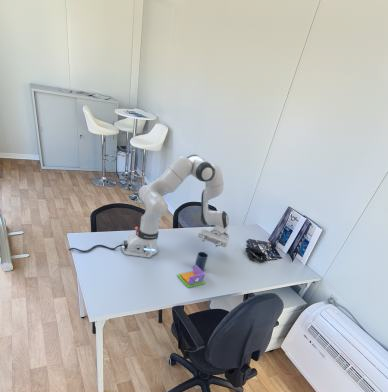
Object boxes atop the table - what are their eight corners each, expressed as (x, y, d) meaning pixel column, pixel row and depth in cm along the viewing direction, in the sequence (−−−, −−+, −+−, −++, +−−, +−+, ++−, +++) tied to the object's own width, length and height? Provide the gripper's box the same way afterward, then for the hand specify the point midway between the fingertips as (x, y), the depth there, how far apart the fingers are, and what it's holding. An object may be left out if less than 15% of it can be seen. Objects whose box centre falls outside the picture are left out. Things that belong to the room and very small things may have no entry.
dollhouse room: (204, 283, 170) (207, 274, 166) (188, 287, 163) (190, 278, 159) (193, 271, 177) (196, 262, 173) (177, 275, 170) (179, 266, 166)
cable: (241, 249, 212) (243, 244, 209) (257, 249, 217) (259, 244, 215) (252, 262, 200) (254, 257, 197) (268, 262, 205) (271, 257, 202)
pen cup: (195, 271, 177) (199, 257, 171) (193, 265, 182) (196, 251, 176) (205, 271, 180) (209, 257, 173) (202, 265, 184) (206, 252, 178)
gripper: (203, 225, 193) (195, 232, 182) (231, 236, 190) (225, 244, 179) (201, 233, 197) (193, 241, 186) (228, 244, 193) (223, 252, 183)
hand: (209, 243), depth 182 cm, fingers open, 8 cm apart
